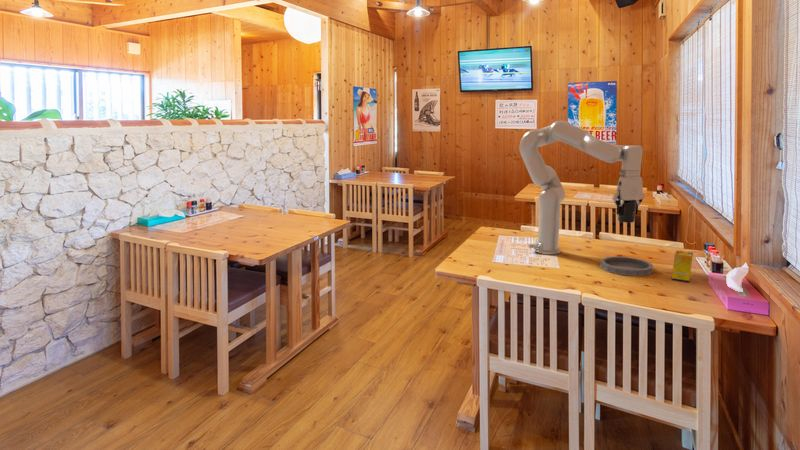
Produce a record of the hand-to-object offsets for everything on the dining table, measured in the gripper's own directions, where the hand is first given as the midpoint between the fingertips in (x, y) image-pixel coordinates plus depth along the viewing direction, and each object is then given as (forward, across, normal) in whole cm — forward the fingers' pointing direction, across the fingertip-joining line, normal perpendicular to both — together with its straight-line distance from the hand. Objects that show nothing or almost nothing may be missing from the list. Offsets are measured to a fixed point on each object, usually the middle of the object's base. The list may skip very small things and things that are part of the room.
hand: (626, 214), depth 204 cm
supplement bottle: (+4, 0, 0) cm, 4 cm away
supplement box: (+22, +5, -28) cm, 36 cm away
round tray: (+22, -6, -10) cm, 25 cm away
